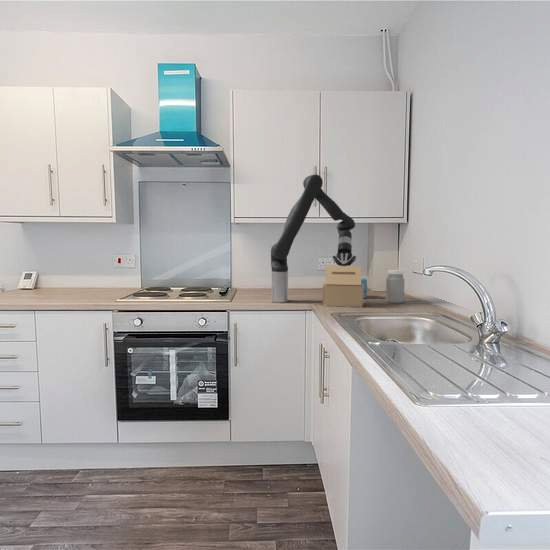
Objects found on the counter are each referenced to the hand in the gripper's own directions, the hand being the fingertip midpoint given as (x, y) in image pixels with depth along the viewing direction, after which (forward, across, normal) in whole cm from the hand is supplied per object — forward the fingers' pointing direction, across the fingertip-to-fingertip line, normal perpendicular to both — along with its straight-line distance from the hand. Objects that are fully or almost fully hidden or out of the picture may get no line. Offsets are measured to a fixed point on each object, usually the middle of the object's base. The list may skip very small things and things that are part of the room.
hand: (343, 270), depth 209 cm
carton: (+11, 0, +16) cm, 19 cm away
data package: (-8, +8, +35) cm, 37 cm away
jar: (+3, +28, +25) cm, 37 cm away
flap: (+8, 0, +2) cm, 8 cm away
